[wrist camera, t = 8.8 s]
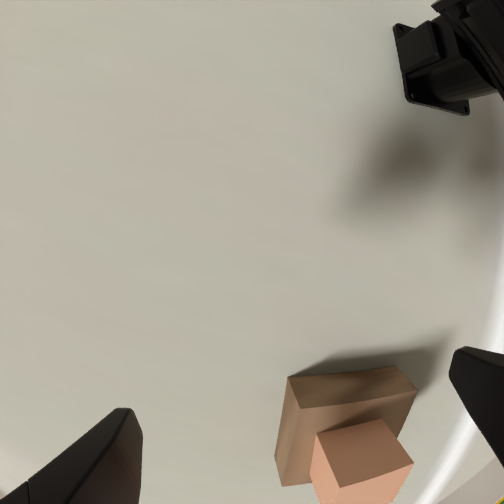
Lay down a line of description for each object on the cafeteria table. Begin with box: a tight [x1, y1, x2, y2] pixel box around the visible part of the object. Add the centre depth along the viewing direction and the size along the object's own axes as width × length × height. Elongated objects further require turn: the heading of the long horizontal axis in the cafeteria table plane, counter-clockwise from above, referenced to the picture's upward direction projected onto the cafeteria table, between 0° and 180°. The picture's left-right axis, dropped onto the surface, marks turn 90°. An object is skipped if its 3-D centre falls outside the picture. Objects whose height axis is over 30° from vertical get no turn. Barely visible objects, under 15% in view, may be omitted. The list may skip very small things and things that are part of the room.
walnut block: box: [274, 366, 418, 487], centre depth 20 cm, size 9×9×4 cm
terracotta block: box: [309, 418, 414, 504], centre depth 16 cm, size 5×5×5 cm
